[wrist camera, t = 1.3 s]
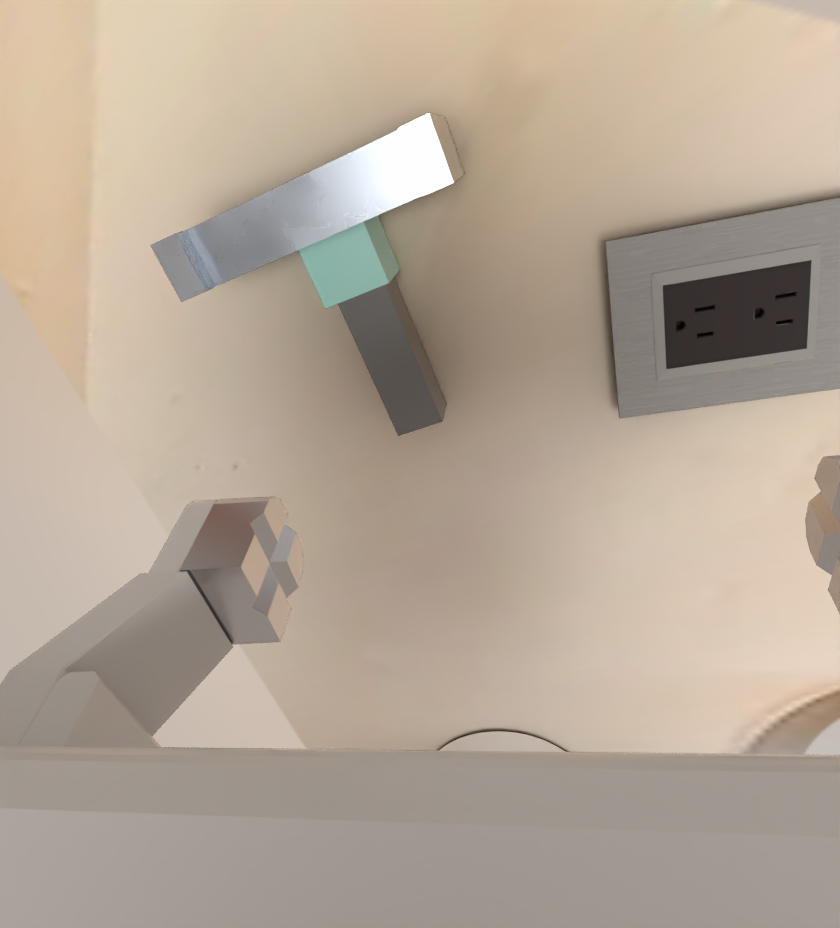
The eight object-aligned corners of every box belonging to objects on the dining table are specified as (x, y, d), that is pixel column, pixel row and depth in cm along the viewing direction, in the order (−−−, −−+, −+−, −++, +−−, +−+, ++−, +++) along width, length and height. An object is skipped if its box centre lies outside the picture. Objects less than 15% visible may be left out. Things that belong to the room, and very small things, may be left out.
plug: (453, 400, 43) (448, 425, 39) (398, 419, 44) (388, 444, 40) (364, 182, 37) (349, 187, 34) (303, 210, 38) (282, 218, 35)
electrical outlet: (614, 405, 42) (620, 420, 40) (600, 236, 37) (606, 243, 35) (839, 374, 39) (857, 387, 37) (853, 188, 35) (875, 192, 33)
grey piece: (464, 173, 36) (454, 182, 29) (239, 272, 40) (181, 302, 33) (445, 116, 35) (429, 112, 28) (215, 225, 39) (150, 245, 32)
